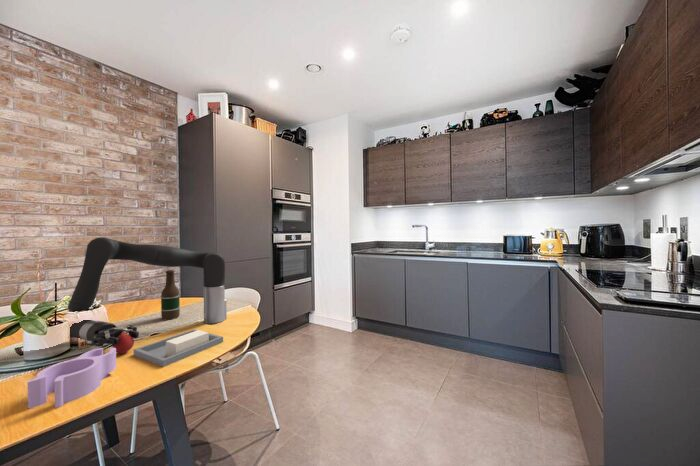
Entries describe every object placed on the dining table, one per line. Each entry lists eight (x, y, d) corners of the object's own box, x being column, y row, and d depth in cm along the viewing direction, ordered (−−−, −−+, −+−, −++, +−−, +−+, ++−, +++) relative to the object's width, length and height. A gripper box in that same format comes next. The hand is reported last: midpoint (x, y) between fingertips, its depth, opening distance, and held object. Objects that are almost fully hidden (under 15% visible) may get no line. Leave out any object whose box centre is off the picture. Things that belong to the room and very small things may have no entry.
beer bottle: (157, 319, 138) (156, 271, 138) (170, 314, 146) (169, 269, 145) (171, 320, 137) (170, 271, 136) (183, 315, 144) (182, 269, 144)
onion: (121, 358, 95) (121, 335, 95) (108, 357, 97) (107, 334, 96) (138, 351, 101) (137, 329, 101) (125, 349, 102) (124, 328, 102)
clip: (88, 369, 90) (88, 348, 90) (128, 368, 90) (128, 347, 90) (16, 409, 70) (16, 382, 70) (68, 408, 70) (67, 381, 70)
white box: (198, 342, 107) (198, 330, 107) (208, 345, 105) (208, 332, 105) (165, 355, 97) (165, 341, 97) (176, 359, 94) (176, 344, 94)
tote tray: (194, 336, 117) (193, 329, 117) (223, 344, 108) (223, 336, 108) (133, 357, 97) (133, 349, 97) (163, 370, 89) (163, 360, 89)
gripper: (73, 328, 97) (103, 335, 91) (119, 316, 110) (148, 321, 104) (73, 350, 97) (104, 358, 91) (120, 334, 110) (149, 341, 105)
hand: (127, 338), depth 98 cm, fingers closed on onion, 5 cm apart
